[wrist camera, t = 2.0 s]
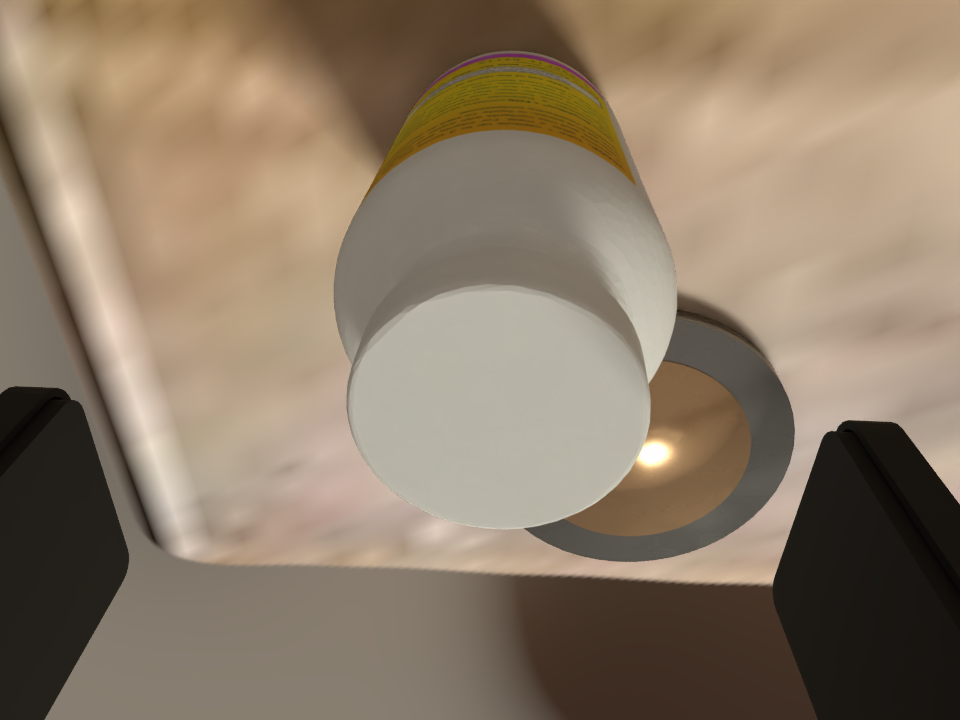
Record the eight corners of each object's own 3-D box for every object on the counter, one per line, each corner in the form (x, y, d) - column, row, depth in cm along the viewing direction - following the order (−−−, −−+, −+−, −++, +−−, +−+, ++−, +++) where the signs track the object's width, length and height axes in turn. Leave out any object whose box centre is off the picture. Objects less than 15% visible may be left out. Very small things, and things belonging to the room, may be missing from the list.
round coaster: (824, 315, 24) (834, 329, 23) (750, 554, 30) (756, 571, 29) (489, 299, 24) (487, 311, 24) (480, 538, 30) (478, 555, 29)
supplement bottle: (360, 106, 21) (187, 314, 10) (574, 2, 20) (635, 120, 9) (459, 296, 24) (405, 610, 14) (652, 220, 23) (770, 510, 12)
